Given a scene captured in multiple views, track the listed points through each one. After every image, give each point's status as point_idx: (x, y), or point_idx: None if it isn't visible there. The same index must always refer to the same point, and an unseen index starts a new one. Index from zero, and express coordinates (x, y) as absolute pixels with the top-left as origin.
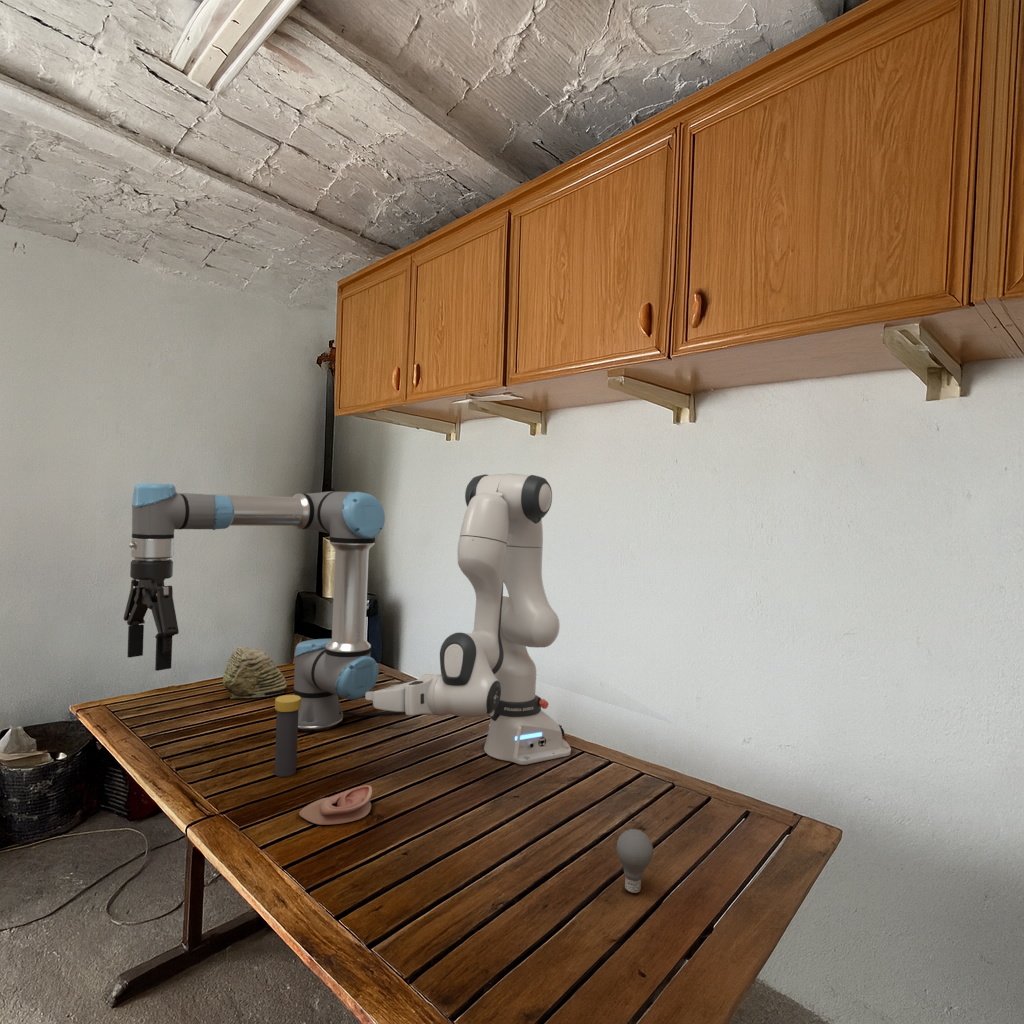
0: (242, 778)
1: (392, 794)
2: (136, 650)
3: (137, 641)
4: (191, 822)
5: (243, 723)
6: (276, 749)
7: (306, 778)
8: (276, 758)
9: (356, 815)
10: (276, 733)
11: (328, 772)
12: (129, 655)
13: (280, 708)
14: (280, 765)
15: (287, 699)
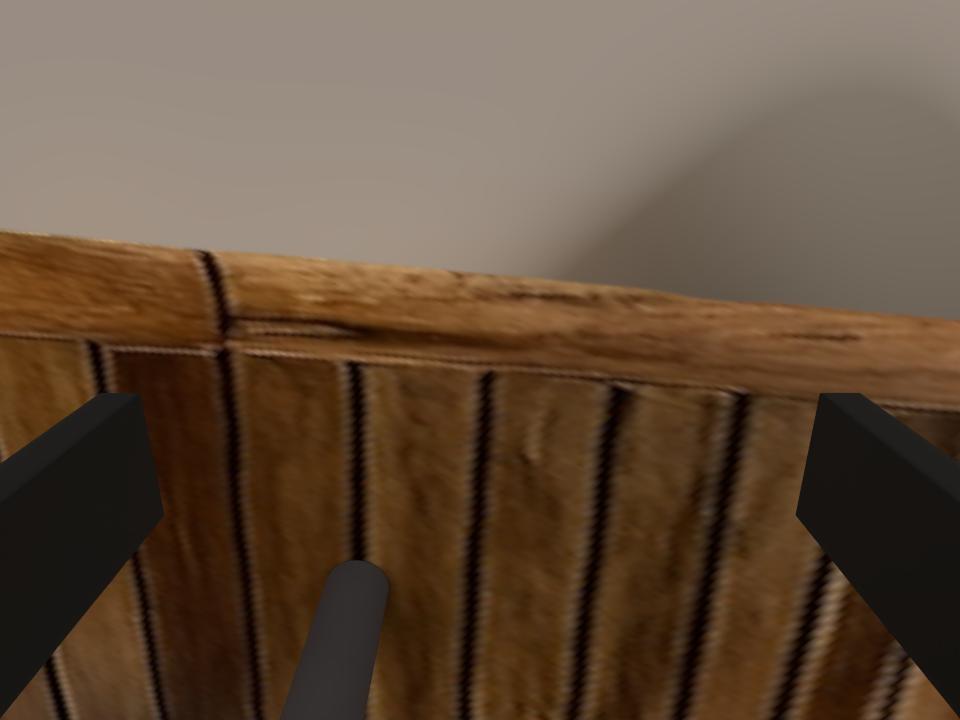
0: (406, 491)
1: (48, 684)
2: (841, 495)
3: (907, 571)
4: (220, 266)
5: (806, 676)
6: (343, 617)
7: (280, 601)
8: (346, 595)
9: None
10: (337, 660)
11: (277, 655)
12: (831, 407)
13: None
14: (333, 586)
15: None
